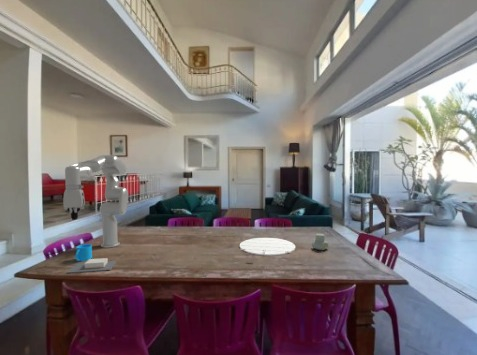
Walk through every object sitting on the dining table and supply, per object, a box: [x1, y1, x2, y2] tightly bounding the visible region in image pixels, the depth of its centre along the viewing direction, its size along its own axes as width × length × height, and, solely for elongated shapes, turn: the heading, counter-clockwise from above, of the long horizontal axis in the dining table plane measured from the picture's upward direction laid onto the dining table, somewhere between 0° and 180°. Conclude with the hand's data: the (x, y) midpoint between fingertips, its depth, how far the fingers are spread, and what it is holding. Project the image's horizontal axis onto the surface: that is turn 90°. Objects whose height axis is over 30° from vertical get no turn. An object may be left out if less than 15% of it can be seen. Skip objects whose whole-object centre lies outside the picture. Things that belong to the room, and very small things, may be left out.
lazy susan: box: [239, 237, 296, 257], centre depth 192 cm, size 40×39×3 cm
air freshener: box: [311, 233, 329, 251], centre depth 185 cm, size 11×8×10 cm
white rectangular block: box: [84, 257, 109, 269], centre depth 156 cm, size 7×3×10 cm
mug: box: [74, 243, 93, 262], centre depth 167 cm, size 12×8×8 cm
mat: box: [66, 260, 118, 274], centre depth 155 cm, size 14×22×1 cm, turn 100°
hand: (74, 219), depth 157 cm, fingers closed
